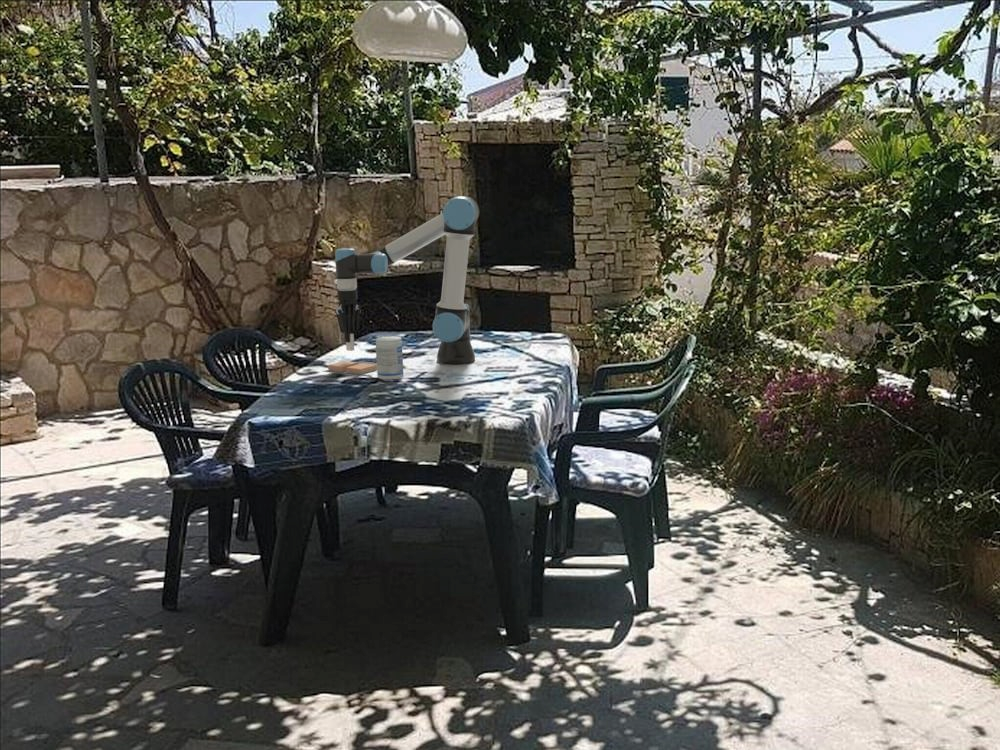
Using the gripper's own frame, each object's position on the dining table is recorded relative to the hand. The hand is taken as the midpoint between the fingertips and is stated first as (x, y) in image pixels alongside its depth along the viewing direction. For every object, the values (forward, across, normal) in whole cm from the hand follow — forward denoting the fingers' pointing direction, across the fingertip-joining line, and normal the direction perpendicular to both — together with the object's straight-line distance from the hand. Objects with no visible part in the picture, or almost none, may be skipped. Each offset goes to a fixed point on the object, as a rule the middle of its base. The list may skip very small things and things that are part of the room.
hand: (350, 350), depth 341 cm
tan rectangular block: (+6, 0, +10) cm, 11 cm away
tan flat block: (+6, 0, 0) cm, 6 cm away
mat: (+7, +1, +5) cm, 8 cm away
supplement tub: (+7, +7, +25) cm, 27 cm away
